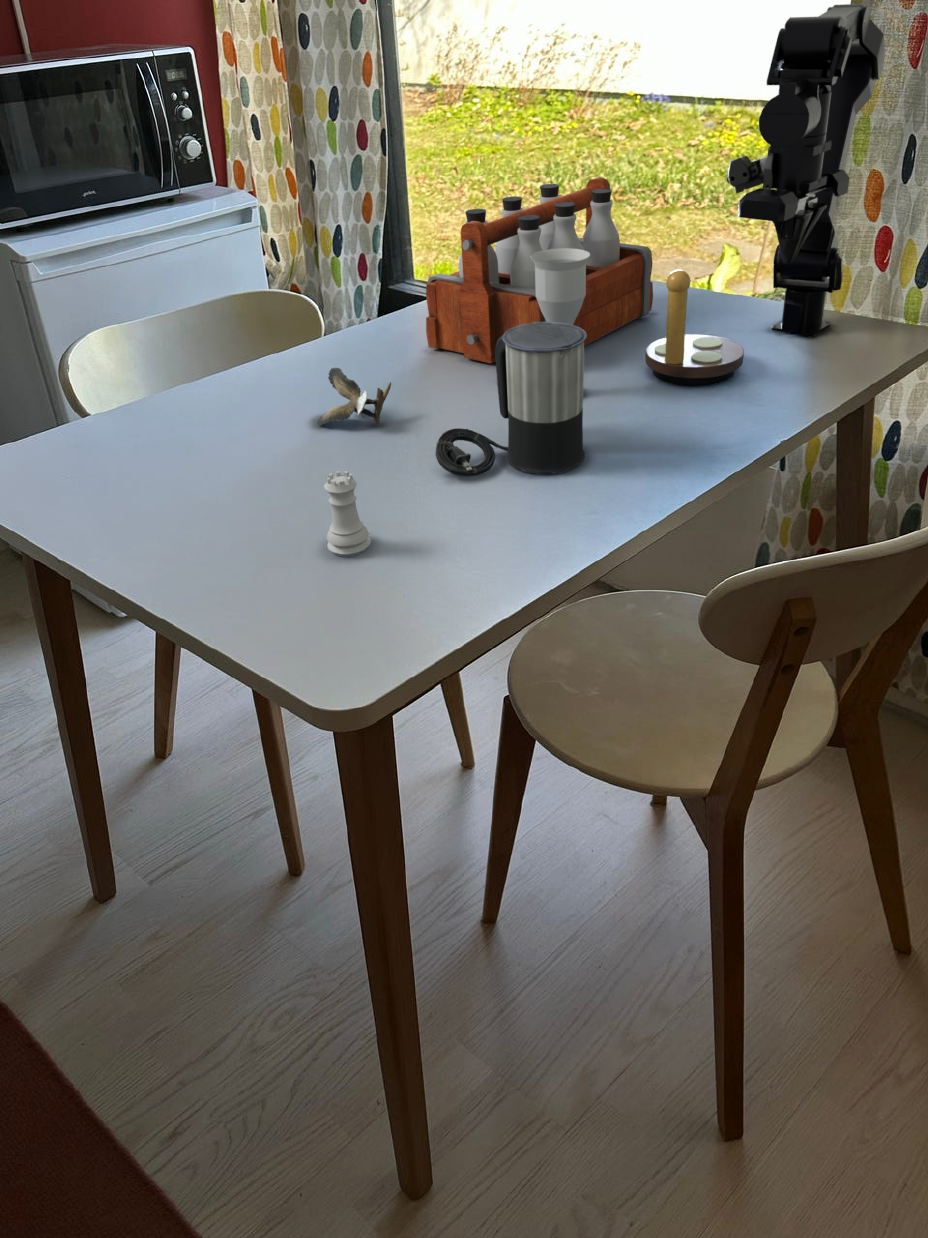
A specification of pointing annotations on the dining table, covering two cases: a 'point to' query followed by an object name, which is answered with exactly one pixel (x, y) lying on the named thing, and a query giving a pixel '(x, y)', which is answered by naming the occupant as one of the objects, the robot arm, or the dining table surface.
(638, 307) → the milk bottle holder
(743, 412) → the dining table surface
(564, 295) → the chalice
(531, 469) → the milk frother
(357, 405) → the eagle figurine
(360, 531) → the rook chess piece
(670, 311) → the joystick with buttons
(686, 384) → the holder base
